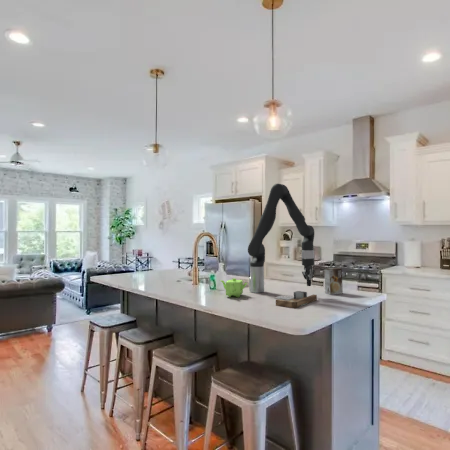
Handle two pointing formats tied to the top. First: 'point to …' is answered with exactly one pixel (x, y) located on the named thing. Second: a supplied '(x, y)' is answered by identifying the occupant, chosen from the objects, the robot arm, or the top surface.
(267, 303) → the top surface
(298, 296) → the clip
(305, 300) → the wooden tray
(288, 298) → the grey concrete tile
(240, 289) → the kettle
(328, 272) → the coffee box
